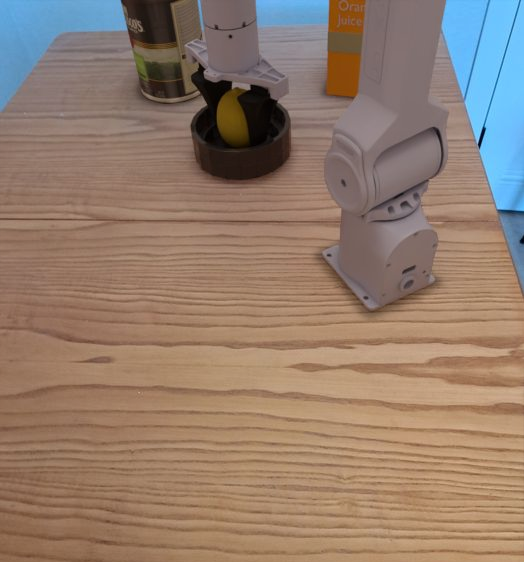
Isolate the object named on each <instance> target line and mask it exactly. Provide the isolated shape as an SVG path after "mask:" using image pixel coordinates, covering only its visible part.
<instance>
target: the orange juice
mask: <svg viewBox="0 0 524 562" xmlns="http://www.w3.org/2000/svg"><path fill="white" fill-rule="evenodd" d="M365 3H366V0H328V21H327V22H328V23H327V26H328V27H327V45H326V47H327V48H326V49H327V51H326V52H327V58H326V59H327V60H326V61H327V64H326V67H327V68H326V95H328V96H337V97H338V96H339V97H349V98H355V97H356V95H357V94H358V86H359V74H360V62H361V51H362V39H363V27H364V15H365Z"/></svg>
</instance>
